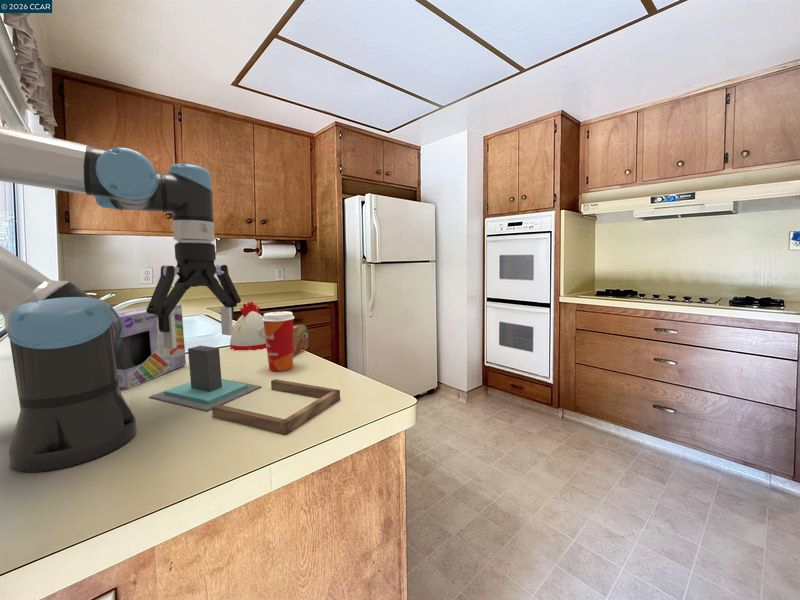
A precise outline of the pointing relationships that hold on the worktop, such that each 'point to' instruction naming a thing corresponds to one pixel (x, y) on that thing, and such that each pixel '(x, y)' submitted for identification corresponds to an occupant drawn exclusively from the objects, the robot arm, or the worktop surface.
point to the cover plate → (205, 395)
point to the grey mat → (201, 405)
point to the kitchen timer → (248, 330)
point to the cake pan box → (146, 347)
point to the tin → (300, 339)
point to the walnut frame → (278, 424)
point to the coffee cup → (279, 340)
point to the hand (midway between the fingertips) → (201, 340)
